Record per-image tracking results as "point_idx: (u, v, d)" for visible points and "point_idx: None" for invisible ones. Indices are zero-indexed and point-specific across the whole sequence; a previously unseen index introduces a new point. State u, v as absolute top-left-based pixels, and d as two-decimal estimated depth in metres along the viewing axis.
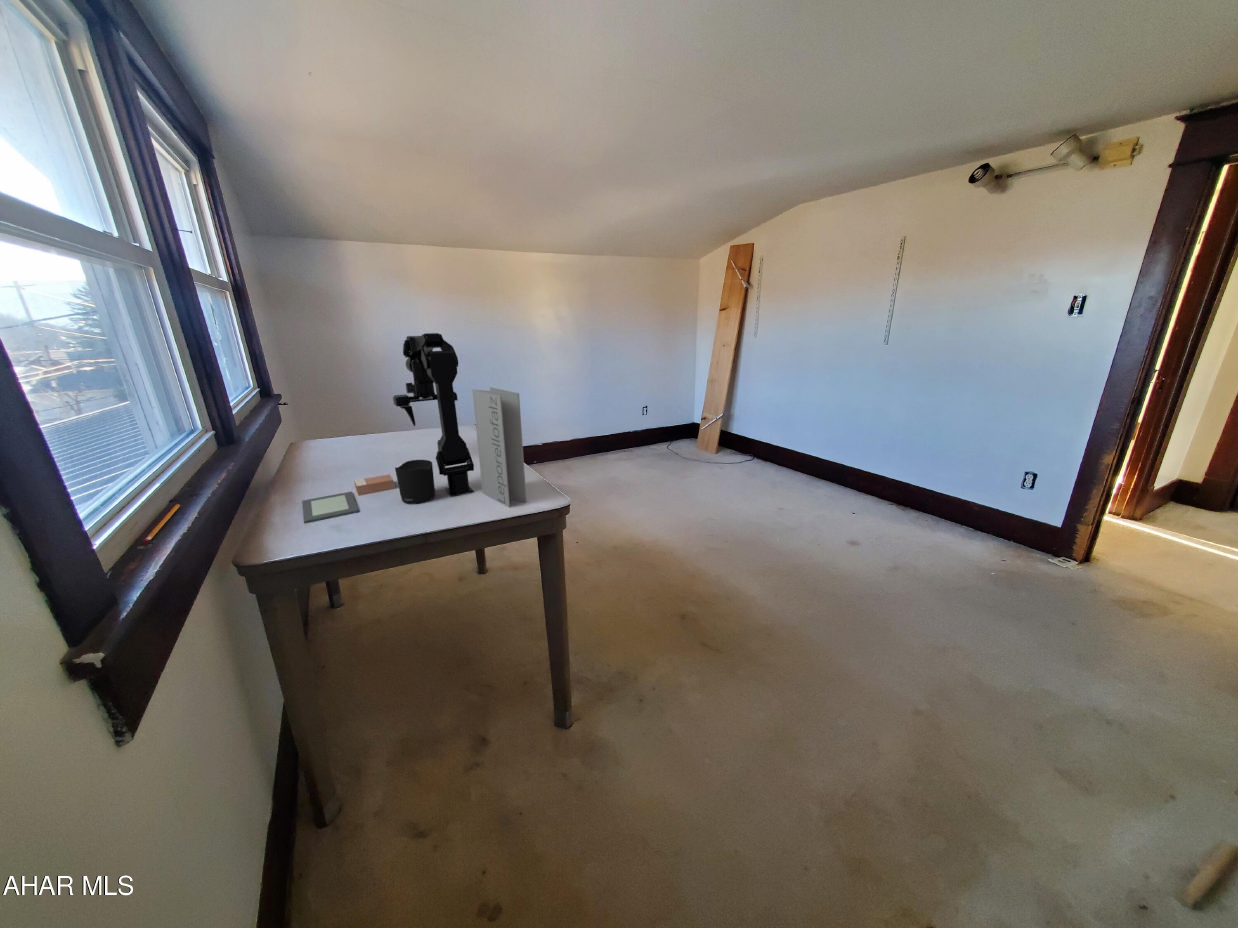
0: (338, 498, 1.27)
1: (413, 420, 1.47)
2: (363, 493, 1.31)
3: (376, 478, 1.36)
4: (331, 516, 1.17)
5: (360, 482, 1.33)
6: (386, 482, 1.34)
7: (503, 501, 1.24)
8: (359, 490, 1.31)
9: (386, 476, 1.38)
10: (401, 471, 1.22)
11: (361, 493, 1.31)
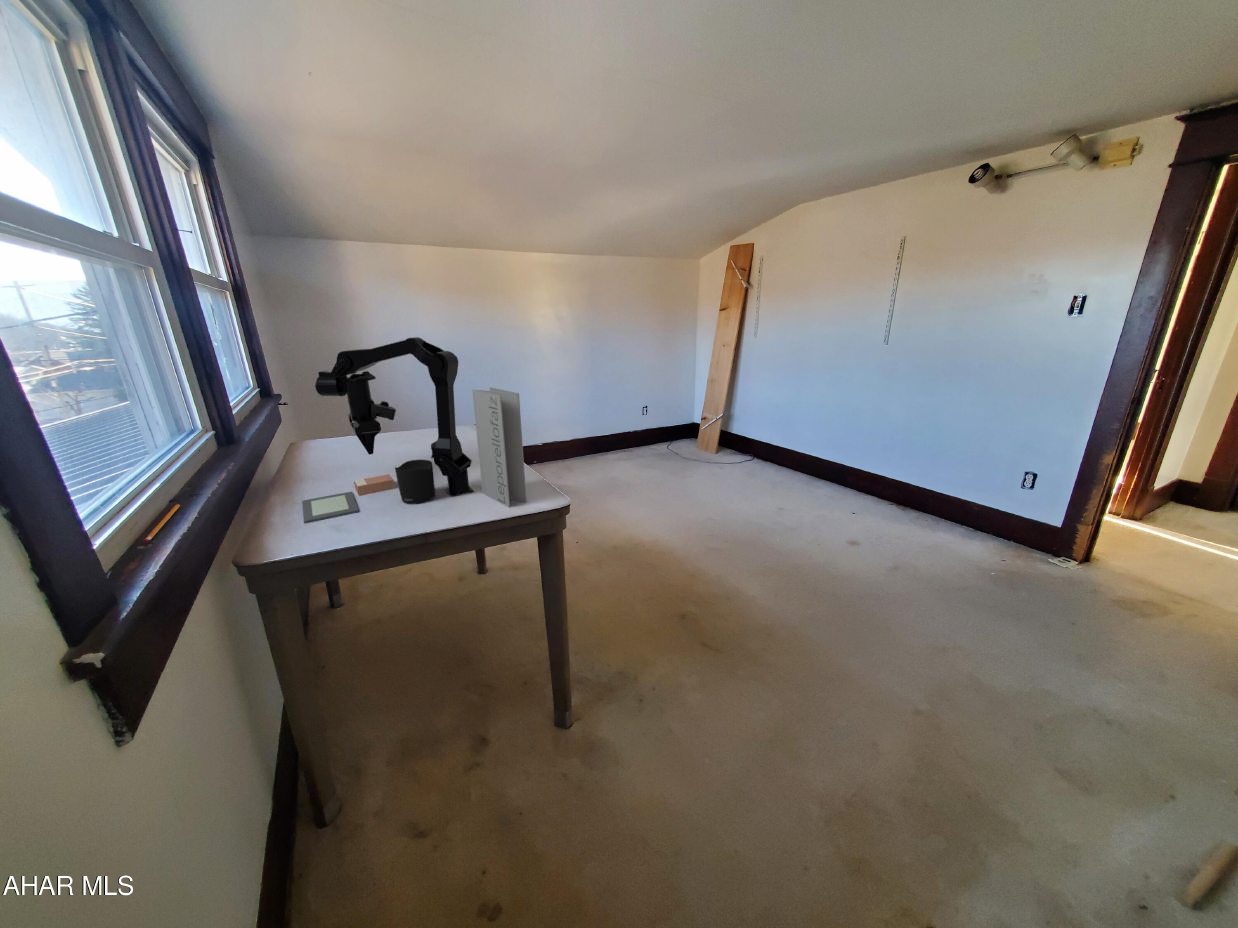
0: (338, 498, 1.27)
1: None
2: (364, 493, 1.31)
3: (376, 478, 1.36)
4: (331, 516, 1.17)
5: (360, 482, 1.33)
6: (387, 482, 1.34)
7: (503, 501, 1.24)
8: (359, 490, 1.30)
9: (386, 476, 1.38)
10: (401, 471, 1.22)
11: (362, 493, 1.31)
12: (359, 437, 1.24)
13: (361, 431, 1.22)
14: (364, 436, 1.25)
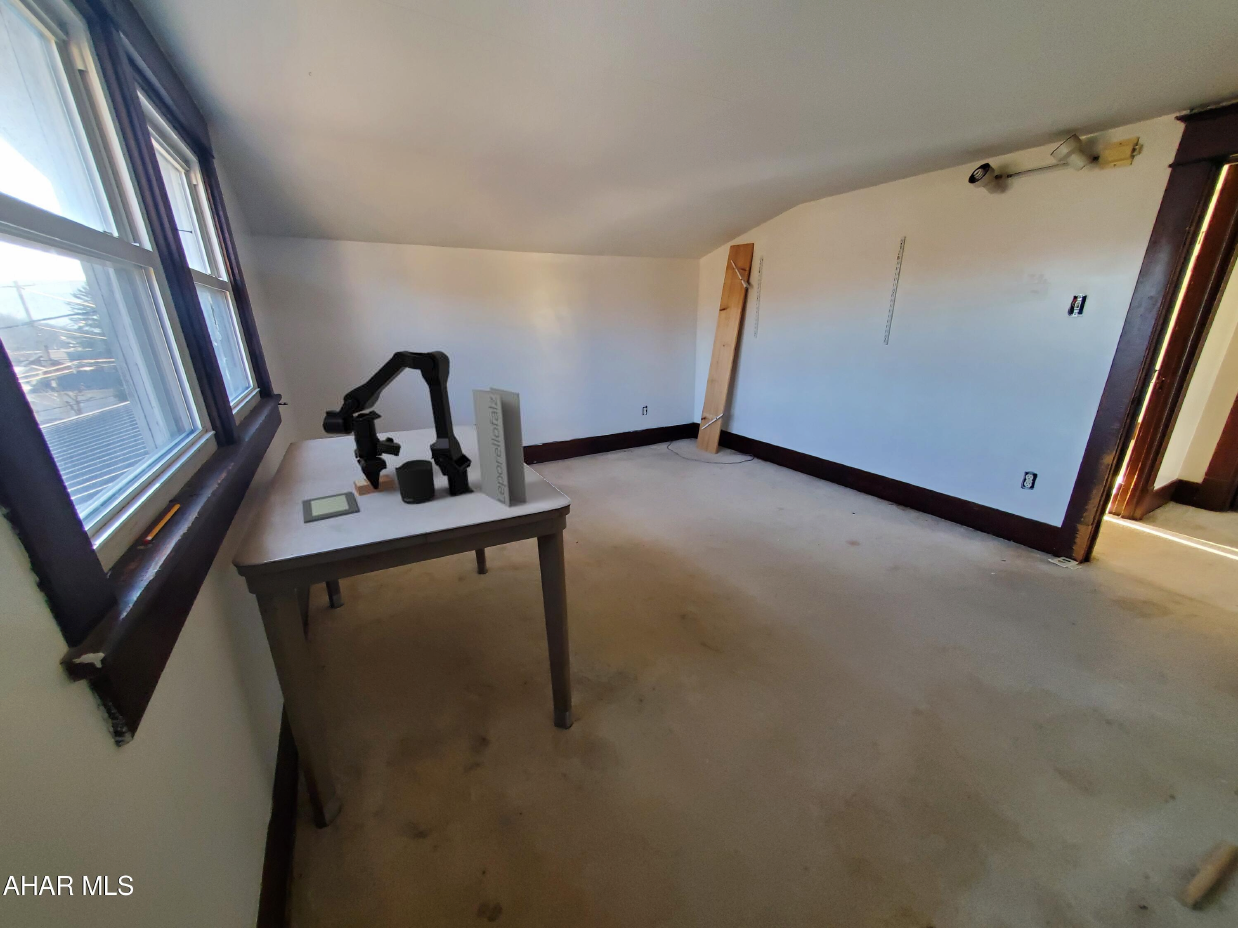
0: (338, 498, 1.27)
1: None
2: (364, 493, 1.31)
3: None
4: (331, 516, 1.17)
5: (360, 482, 1.33)
6: (387, 481, 1.35)
7: (503, 501, 1.24)
8: (360, 490, 1.30)
9: (385, 476, 1.38)
10: (401, 471, 1.22)
11: (362, 493, 1.31)
12: (365, 474, 1.28)
13: (368, 470, 1.25)
14: (370, 472, 1.30)
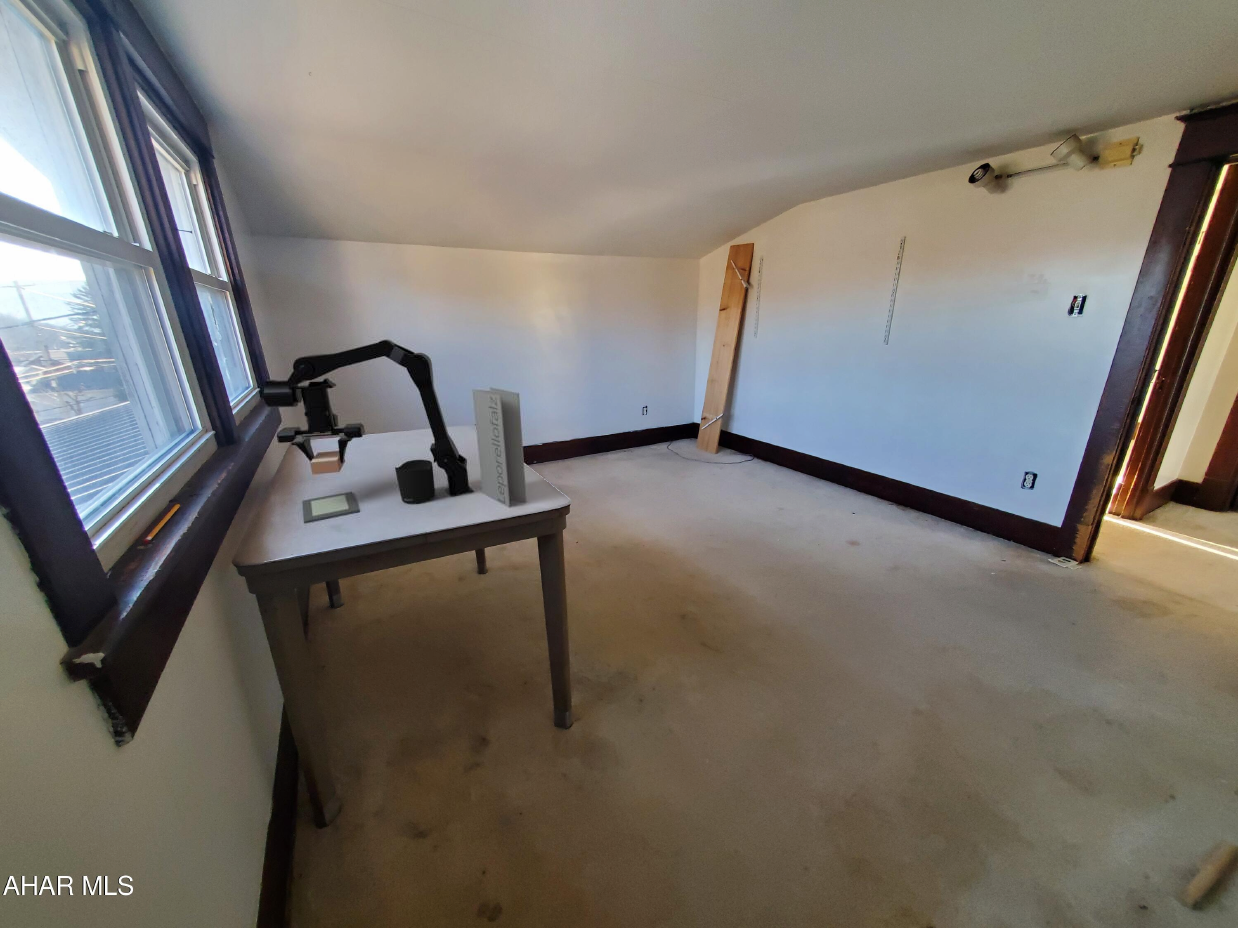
0: (338, 498, 1.27)
1: (310, 459, 1.19)
2: (339, 467, 1.20)
3: (323, 455, 1.22)
4: (331, 516, 1.17)
5: (326, 459, 1.18)
6: None
7: (503, 501, 1.24)
8: (338, 464, 1.19)
9: (324, 453, 1.24)
10: (401, 471, 1.22)
11: (339, 467, 1.20)
12: None
13: (362, 434, 1.21)
14: None
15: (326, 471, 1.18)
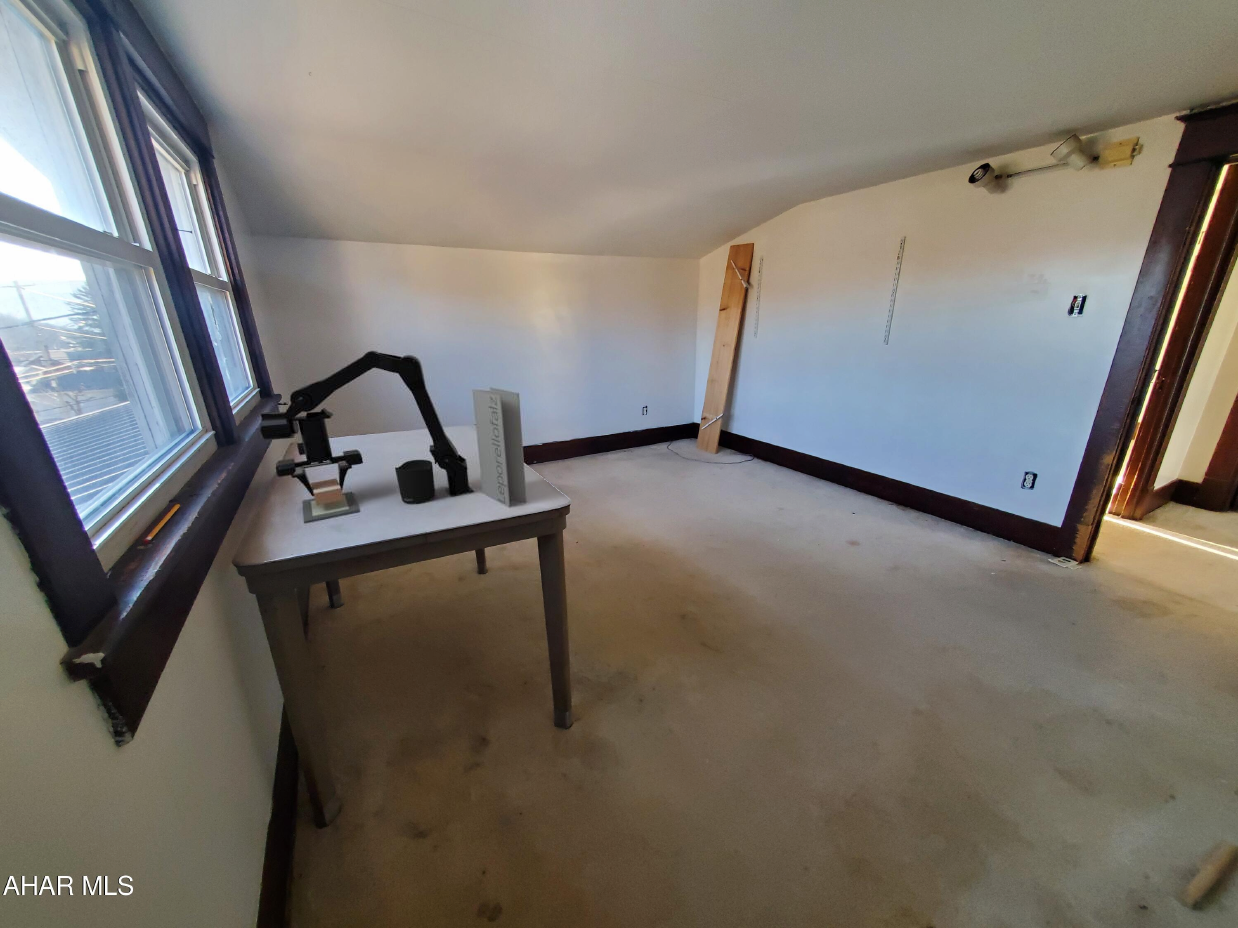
0: None
1: (310, 490, 1.18)
2: None
3: (320, 485, 1.21)
4: (331, 516, 1.17)
5: (328, 488, 1.19)
6: (337, 481, 1.25)
7: (503, 501, 1.24)
8: (341, 492, 1.20)
9: (318, 482, 1.23)
10: (401, 471, 1.22)
11: (342, 495, 1.21)
12: None
13: None
14: None
15: (330, 500, 1.18)
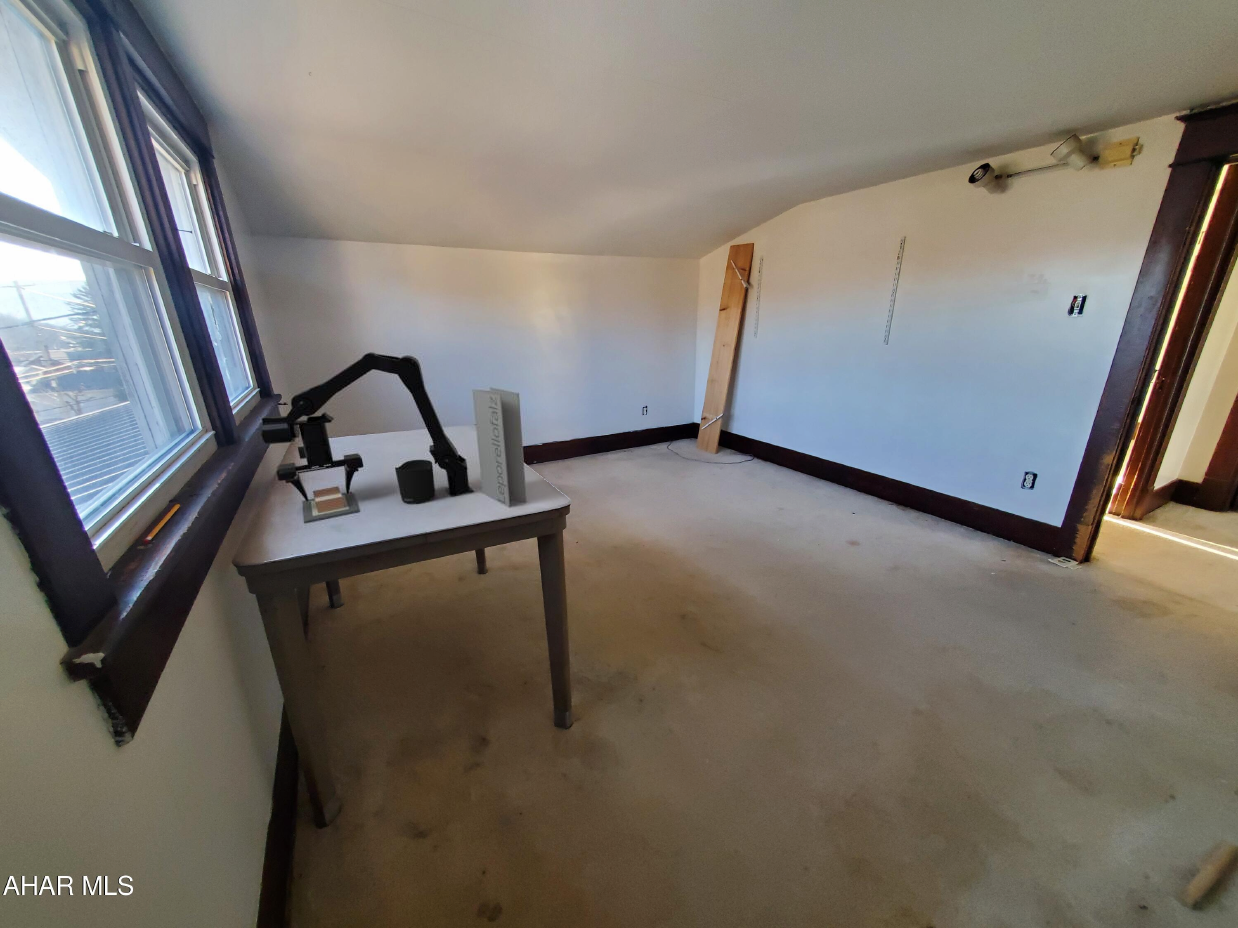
0: None
1: (304, 495, 1.18)
2: None
3: (322, 493, 1.22)
4: (331, 516, 1.17)
5: (330, 497, 1.19)
6: (339, 489, 1.26)
7: (503, 501, 1.24)
8: None
9: (320, 490, 1.24)
10: (401, 471, 1.22)
11: (343, 503, 1.21)
12: None
13: (362, 464, 1.23)
14: None
15: (332, 508, 1.19)
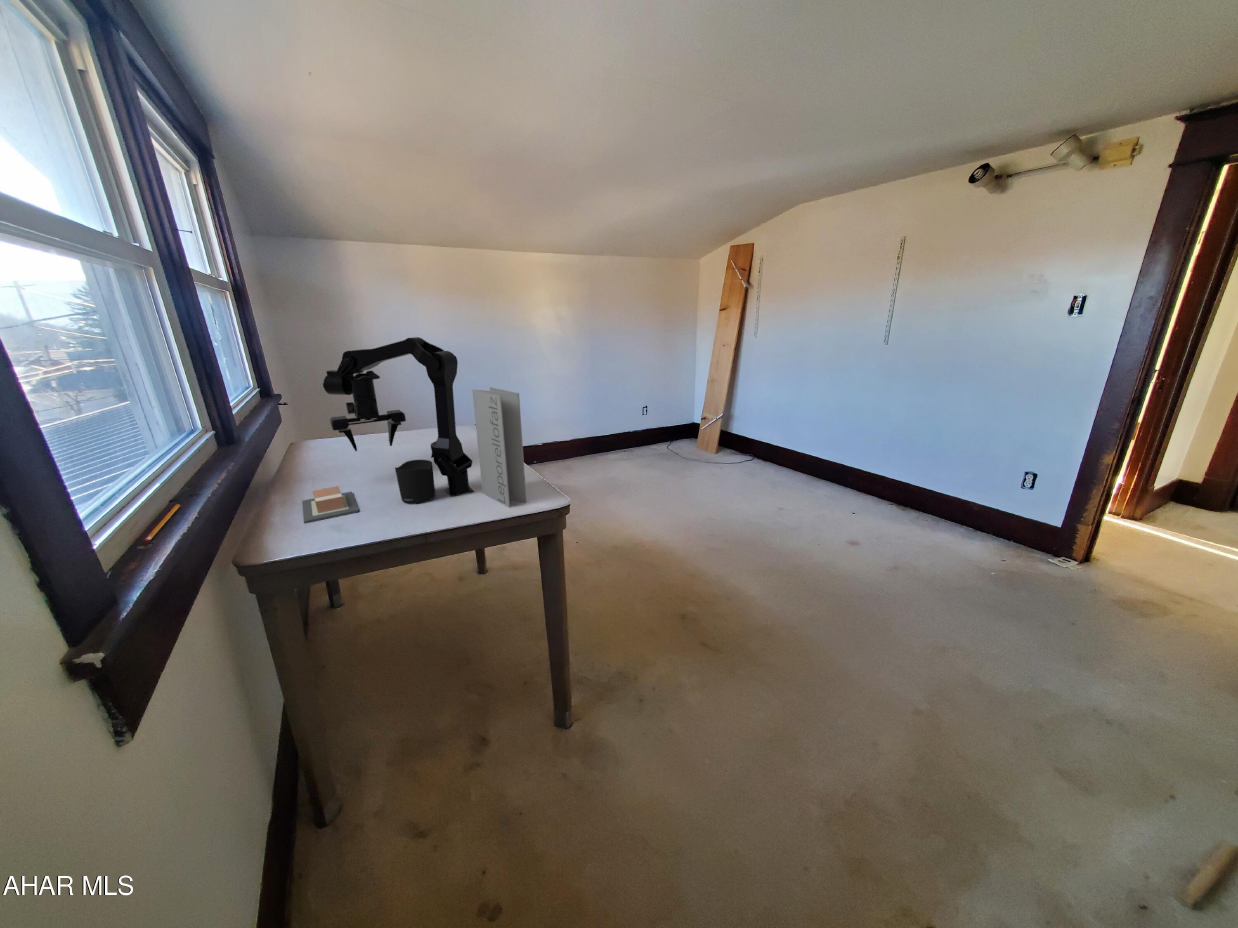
0: None
1: (354, 445, 1.30)
2: None
3: (322, 493, 1.22)
4: (331, 516, 1.17)
5: (330, 497, 1.19)
6: (339, 489, 1.26)
7: (503, 501, 1.24)
8: None
9: (320, 490, 1.24)
10: (401, 471, 1.22)
11: (343, 503, 1.21)
12: None
13: None
14: None
15: (332, 508, 1.19)
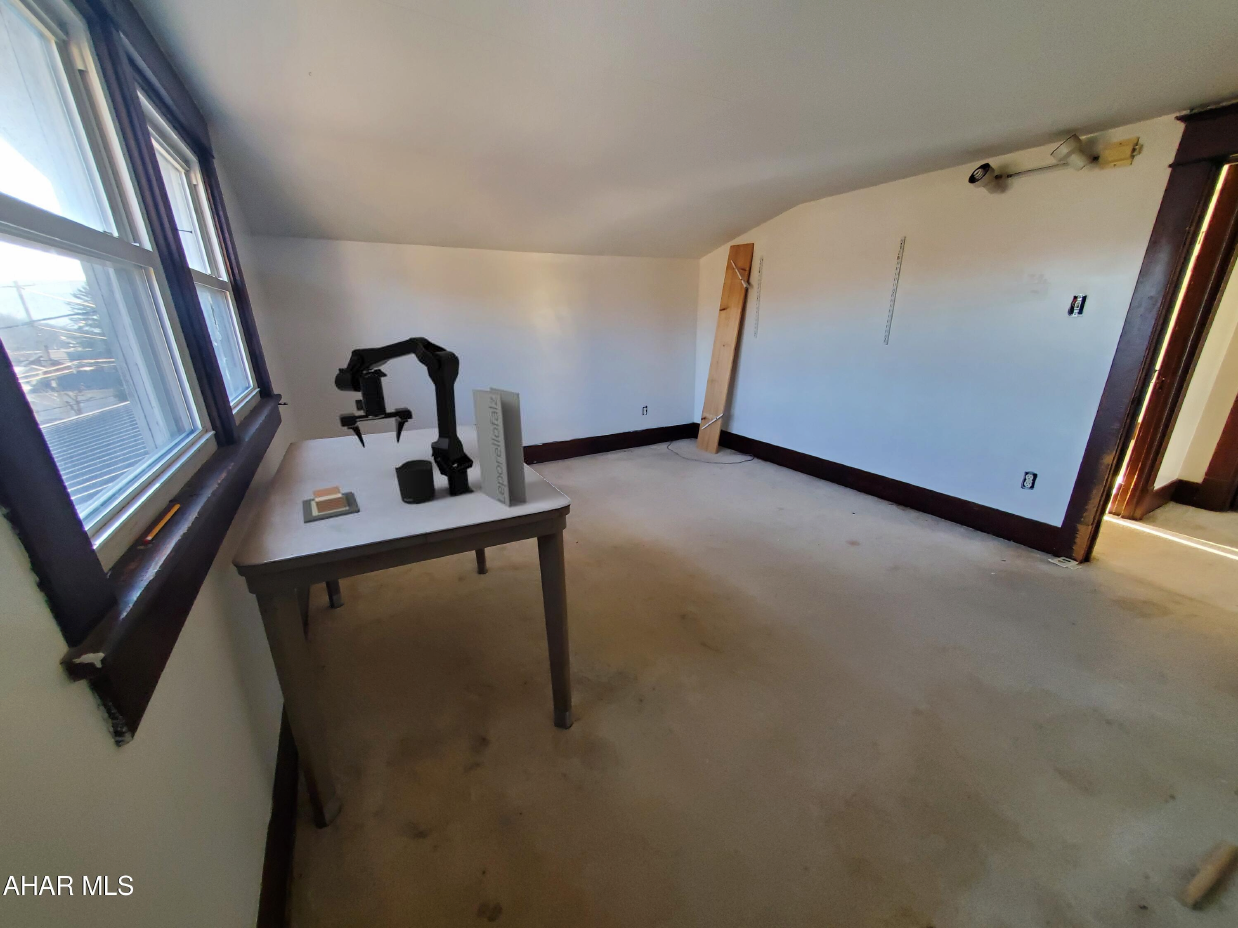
0: None
1: (362, 441, 1.33)
2: None
3: (322, 493, 1.22)
4: (331, 516, 1.17)
5: (330, 497, 1.19)
6: (339, 489, 1.26)
7: (503, 501, 1.24)
8: None
9: (320, 490, 1.24)
10: (401, 471, 1.22)
11: (343, 503, 1.21)
12: None
13: None
14: None
15: (332, 508, 1.19)
